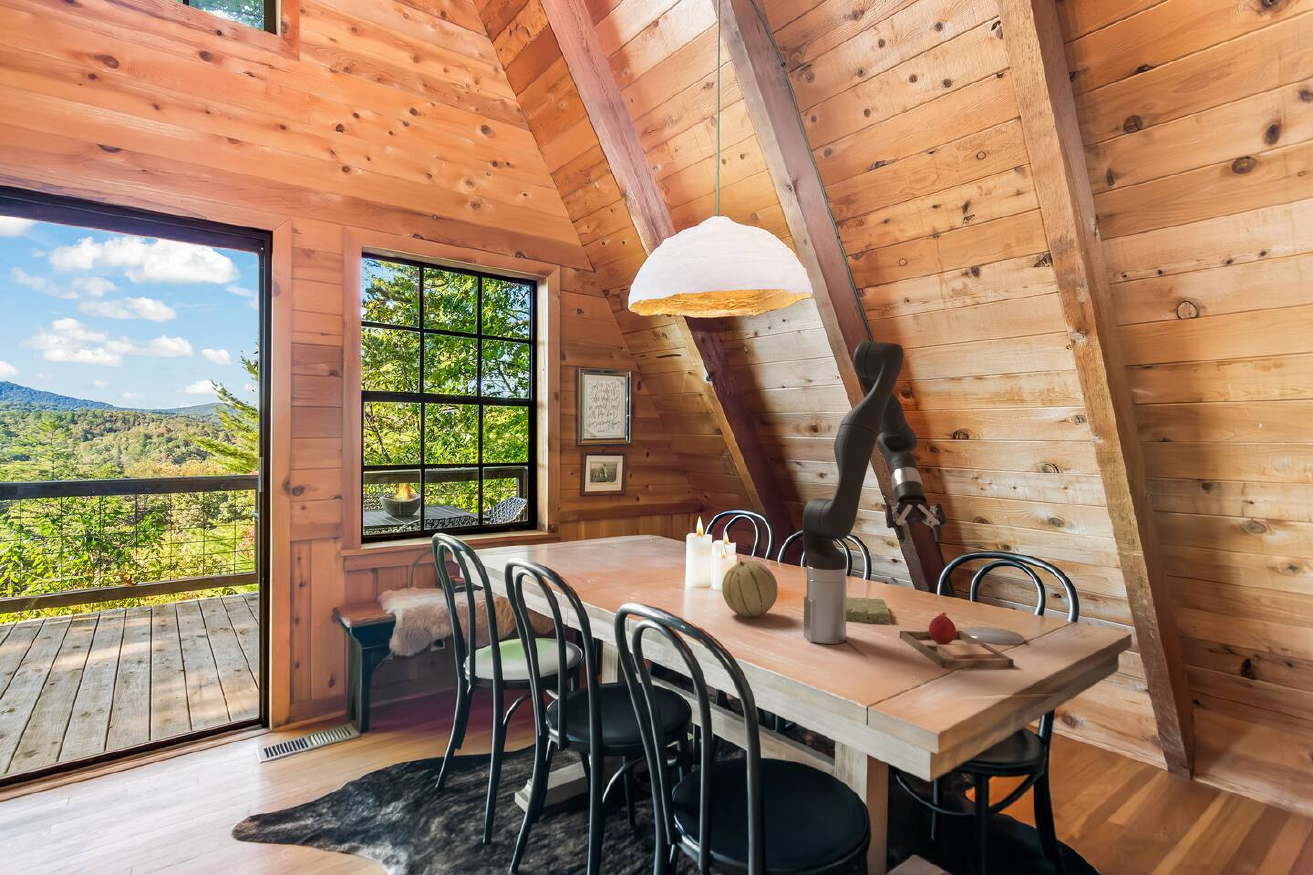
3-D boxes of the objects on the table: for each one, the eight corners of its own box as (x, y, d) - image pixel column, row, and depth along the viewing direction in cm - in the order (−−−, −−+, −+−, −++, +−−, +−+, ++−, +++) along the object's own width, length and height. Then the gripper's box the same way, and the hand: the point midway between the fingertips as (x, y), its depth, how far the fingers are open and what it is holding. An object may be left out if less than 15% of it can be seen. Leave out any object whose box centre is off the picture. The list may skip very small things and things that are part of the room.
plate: (981, 646, 161) (981, 642, 161) (953, 631, 174) (953, 627, 174) (1035, 646, 161) (1035, 641, 161) (1004, 630, 174) (1004, 626, 174)
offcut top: (953, 660, 146) (953, 654, 146) (937, 650, 153) (937, 644, 153) (994, 659, 147) (994, 653, 147) (977, 649, 154) (977, 644, 154)
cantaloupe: (788, 616, 187) (788, 560, 187) (754, 626, 177) (755, 567, 177) (744, 606, 197) (745, 553, 197) (710, 615, 187) (711, 559, 187)
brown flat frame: (943, 670, 144) (943, 660, 144) (899, 639, 166) (899, 631, 166) (1013, 669, 145) (1013, 659, 145) (960, 638, 167) (960, 630, 167)
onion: (942, 651, 157) (942, 616, 157) (923, 644, 162) (923, 610, 162) (961, 648, 159) (961, 613, 159) (941, 641, 164) (942, 607, 164)
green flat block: (811, 604, 202) (811, 592, 202) (883, 609, 198) (883, 596, 198) (812, 621, 184) (812, 607, 184) (892, 626, 180) (892, 612, 180)
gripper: (882, 480, 182) (893, 532, 171) (939, 479, 181) (953, 531, 170) (878, 497, 188) (888, 548, 177) (932, 496, 186) (946, 548, 176)
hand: (920, 540), depth 174 cm, fingers open, 8 cm apart
